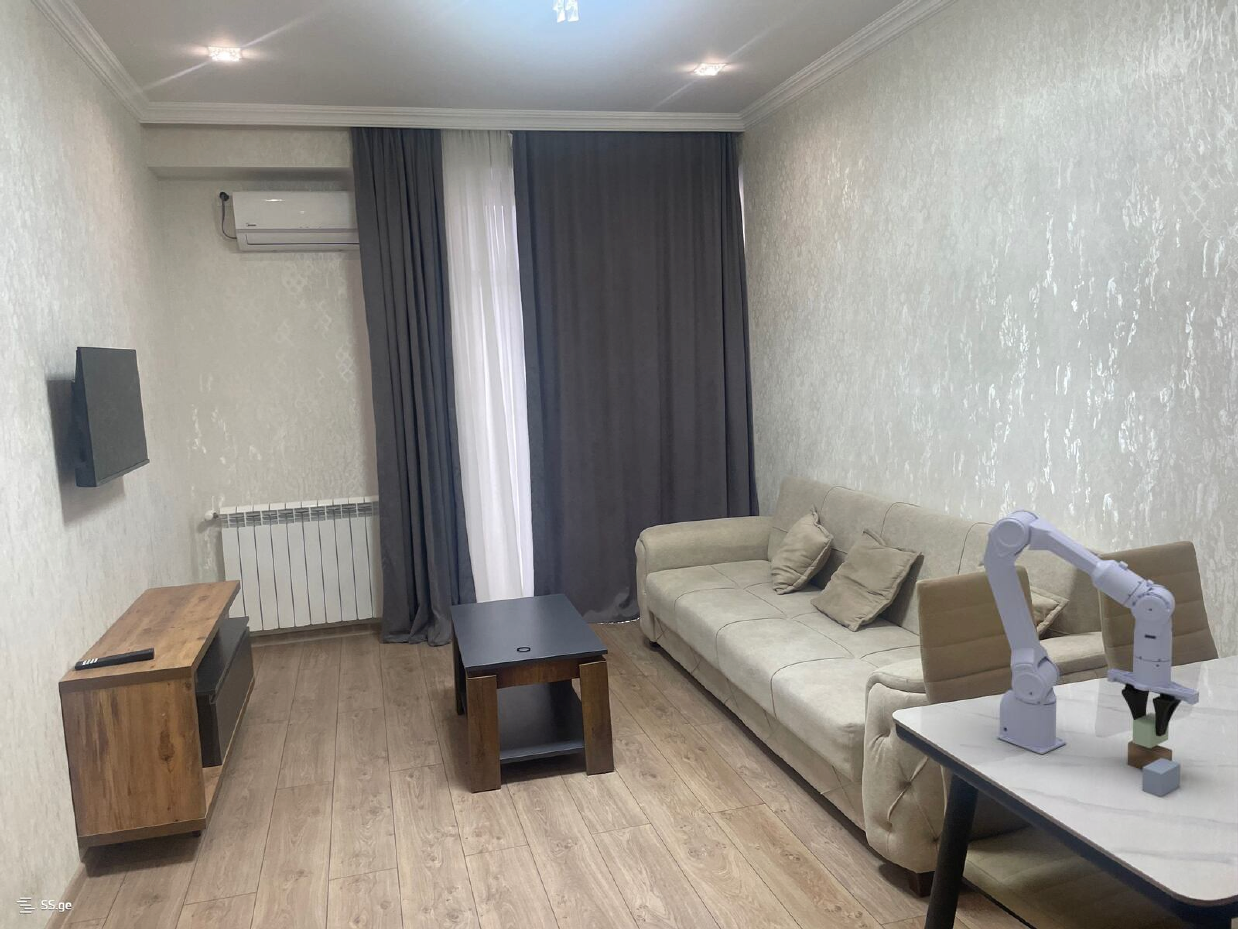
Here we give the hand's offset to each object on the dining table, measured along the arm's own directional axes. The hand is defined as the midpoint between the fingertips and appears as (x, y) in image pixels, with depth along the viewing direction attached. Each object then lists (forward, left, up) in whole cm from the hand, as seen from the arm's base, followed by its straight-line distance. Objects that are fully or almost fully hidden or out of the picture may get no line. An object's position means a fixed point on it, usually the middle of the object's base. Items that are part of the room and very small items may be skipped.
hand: (1150, 731), depth 157 cm
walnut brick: (0, 0, -7) cm, 7 cm away
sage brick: (0, 0, -2) cm, 2 cm away
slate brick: (+5, -6, -7) cm, 10 cm away
